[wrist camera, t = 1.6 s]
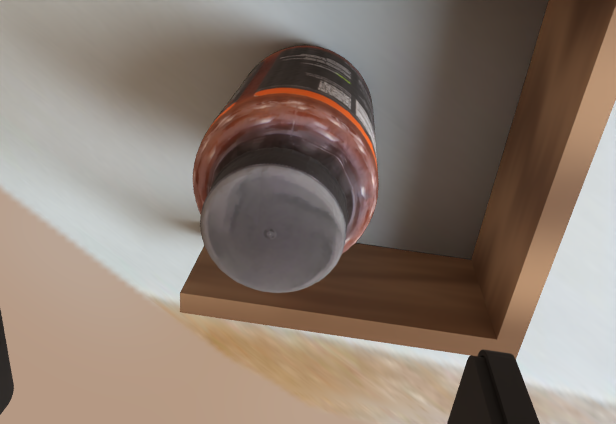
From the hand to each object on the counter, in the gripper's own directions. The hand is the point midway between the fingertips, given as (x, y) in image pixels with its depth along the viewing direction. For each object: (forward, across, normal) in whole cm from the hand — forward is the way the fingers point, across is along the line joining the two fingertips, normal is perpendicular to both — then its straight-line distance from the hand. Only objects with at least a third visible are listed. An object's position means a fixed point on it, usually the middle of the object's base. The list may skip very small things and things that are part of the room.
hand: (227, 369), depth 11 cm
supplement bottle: (+16, 0, -1) cm, 16 cm away
